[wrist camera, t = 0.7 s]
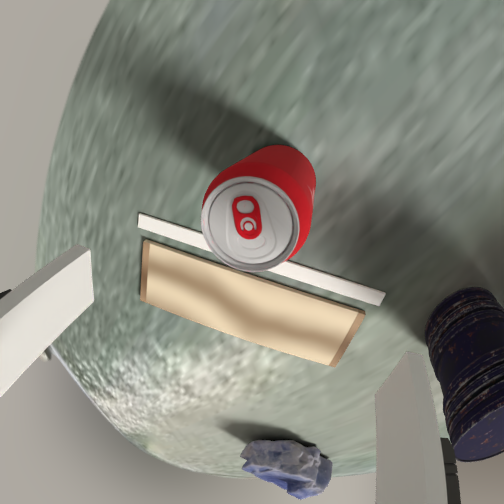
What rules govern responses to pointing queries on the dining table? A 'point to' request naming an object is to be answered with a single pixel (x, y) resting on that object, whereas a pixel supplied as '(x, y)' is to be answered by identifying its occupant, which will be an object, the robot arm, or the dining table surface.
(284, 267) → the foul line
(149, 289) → the board
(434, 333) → the dark blue cylinder
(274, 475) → the mineral
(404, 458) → the robot arm
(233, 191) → the beverage can
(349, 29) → the dining table surface
